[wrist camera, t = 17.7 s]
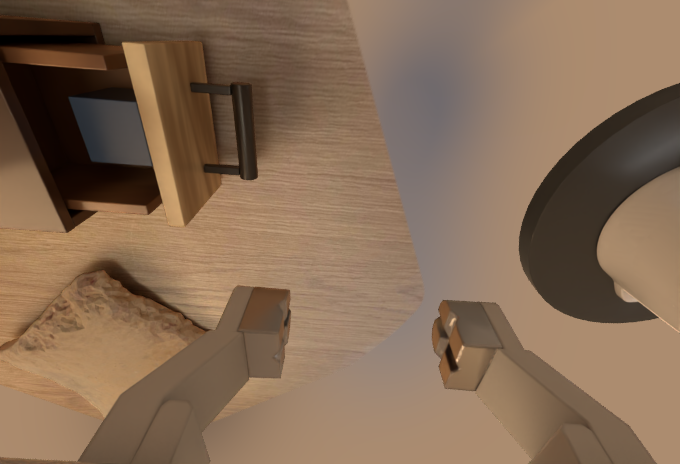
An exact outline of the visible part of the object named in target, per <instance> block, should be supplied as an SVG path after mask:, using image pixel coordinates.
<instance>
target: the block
mask: <svg viewBox="0 0 680 464" xmlns="http://www.w3.org/2000/svg"><path fill="white" fill-rule="evenodd" d="M68 98H69V101H70V104H71V107H72V109H73V112H74V115H75V118H76V120H77V123H78V126H79V129H80V132H81V134H82V137H83V140H84V143H85V145H86V148H87V151H88V154H89V156H90V159H91V161H92V162H102V163H115V164H128V165H141V166H153V163H152V159H151V155H150V151H149V147H148V143H147V139H146V136H145V132H144V128H143V124H142V120H141V116H140V112H139V108H138V104H137V100H136V96H135V93H134V89H126V88H114V87H110V88H106V89H101V90H96V91H92V92H87V93H82V94H77V95H73V96H69V97H68Z"/></svg>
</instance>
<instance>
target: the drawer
mask: <svg viewBox="0 0 680 464" xmlns="http://www.w3.org/2000/svg"><path fill="white" fill-rule="evenodd" d="M0 59H1V61H2V64H3V66H4V68H5V70H6V73H7V75H8V77H9V79H10V82H11V84H12V86H13V88H14V91H15V93H16V95H17V97H18V100H19V102H20V104H21V106H22V109H23V111H24V113H25V115H26V118H27V120H28V122H29V124H30V127H31V129H32V131H33V133H34V136H35V138H36V140H37V143H38V145H39V147H40V149H41V152H42V154H43V156H44V158H45V161H46V163H47V165H48V167H49V170H50V172H51V174H52V176H53V179H54V181H55V183H56V185H57V188H58V190H59V192H60V194H61V197H62V199H63V201H64V203H65V206H66V208H67V209H76V210H90V211H104V212H118V213H131V214H145V215H149V214H150V213H151V212H153V211H154V210H155V209H156V208H157V207H158V206H159V205H160V204H161V203H163V206H164V210H165V214H166V218H167V221H168V225H169V226H174V227H186V225H187V224H188V223H189V222H190V221H191V220H192V218H193V217H194V216H195V215H196V214H197V213H198V211H199V210H200V209H201V208H202V207H203V206H204V204H205V203H206V202H207V201H208V200H209V199H210V197H211V196H212V195H213V194H214V193H215V191H216V190H217V189H218V188H219V187H220V186H221V184H222V183H221V176H220V174H229V175H240V177H241V179H243V180H254V179H257V178H258V169H257V155H256V141H255V127H254V113H253V99H252V85H251V84H250V83H246V82H232V83H231V85H224V84H212V83H208V82H207V75H206V68H205V61H204V53H203V46H202V42H199V41H187V40H185V41H138V42H122V46H114V45H103V44H91V43H79V42H67V41H55V40H43V39H31V38H19V37H0ZM110 87H114V88H126V89H134V93H135V96H136V100H137V104H138V108H139V112H140V116H141V120H142V124H143V128H144V132H145V136H146V139H147V143H148V147H149V151H150V155H151V159H152V163H153V166H141V165H128V164H115V163H102V162H92V161H91V159H90V156H89V154H88V151H87V148H86V145H85V143H84V140H83V137H82V134H81V132H80V129H79V126H78V123H77V120H76V118H75V115H74V112H73V109H72V107H71V104H70V101H69V98H68V97H69V96H73V95H77V94H82V93H87V92H92V91H96V90H101V89H106V88H110ZM209 94H221V95H232V102H233V111H234V121H235V131H236V140H237V150H238V160H239V166H233V165H220V164H219V161H218V154H217V147H216V140H215V133H214V125H213V118H212V111H211V104H210V97H209Z"/></svg>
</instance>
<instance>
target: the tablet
mask: <svg viewBox="0 0 680 464" xmlns="http://www.w3.org/2000/svg"><path fill="white" fill-rule="evenodd" d="M205 333H206V331H204V330H202V329H200V328H198V327H197V326H194V325H192V321H190V320H189V319H185V318H184V317H183V316H182V314H181V313H179V312H175V311H172V310H170V309H168V308H167V307H165V306H162V305H160V304H159V303H157V302H155V301H153V300H151V299H150V298H145V297H143V296H141V295H134V294H132V293H130V292H129V291H128V290H127V289H126V288H124V287H122V285H121V283H120V281H115V280H114V279H112V278H111V277H109V275H108V274H107V273H106V272H105V271H104V270H100V271H93V272H88V273H83V274H81V275H80V276H78V277H76V278H75V279H74V281H73V282H72V284H70V285H68V286H67V287H66V288H65V289H64V291H63V292H61V294H60V295H59V296H58V297H57V298H56V299H55V300H54V301H53V302H52V303H51V304H50V305H49V306H48V307H47V309H46V310H45V311H44V312H43V314H42V315H41V316H40V317H39V318H38V319H37V320H36V321H35V322H34V323H33V324H32V325H31V326H30V327H29V328H28V329H27V330H26V332H25V333H24V334H23V335H22V336H21V337H20V338H18V339H14V340H12V341H8V342H6V343H4V344H3V345H2V346H0V360H1V361H5V362H8V363H9V364H11V365H12V366H14V367H16V368H18V369H21V370H25V371H28V372H30V373H33V374H36V375H39V376H41V377H44V378H47V379H50V380H52V381H54V382H55V383H57V384H59V385H61V386H63V387H65V388H67V389H70V390H72V391H75V392H76V393H78V394H80V395H81V396H82V397H84V398H85V399H86V400H87V401H88V402H90V403H91V404H92V405H93V406H95V407H96V408H97V409H98V410H99V411H100V412H101V414H102V415H103V417H104V418H106V416H107V414H108V413H109V411H110V410H111V408H112V407H113V405H114V403H115V402H116V400H117V399H118V397H119V396H120V394H122V393H123V392H124V391H126V390H127V389H129V388H130V387H131V386H133V385H134V384H136V383H137V382H138V381H140V380H141V379H142V378H144V377H145V376H147V375H148V374H149V373H151V372H152V371H154V370H155V369H156V368H158V367H159V366H160V365H162V364H163V363H165V362H166V361H167V360H169V359H170V358H172V357H173V356H174V355H176V354H177V353H178V352H180V351H181V350H183V349H184V348H185V347H187V346H188V345H189V344H191V343H192V342H194V341H195V340H196V339H198V338H199V337H201V336H202V335H203V334H205Z"/></svg>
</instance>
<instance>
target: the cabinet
mask: <svg viewBox="0 0 680 464" xmlns="http://www.w3.org/2000/svg"><path fill="white" fill-rule="evenodd" d="M0 37H19V38H31V39H43V40H55V41H67V42H79V43H91V44H103V45H105V43H104V40H103V36H102V33H101V29H100V26H99V23H91V22H79V21H67V20H56V19H44V18H32V17H21V16H9V15H0ZM96 212H98V211H90V210H76V209H67V208H66V206H65V203H64V201H63V199H62V197H61V194H60V192H59V190H58V188H57V185H56V183H55V181H54V179H53V176H52V174H51V172H50V170H49V167H48V165H47V163H46V161H45V158H44V156H43V154H42V152H41V149H40V147H39V145H38V143H37V140H36V138H35V136H34V133H33V131H32V129H31V127H30V124H29V122H28V120H27V118H26V115H25V113H24V111H23V109H22V106H21V104H20V102H19V100H18V97H17V95H16V93H15V91H14V88H13V86H12V84H11V82H10V79H9V77H8V75H7V73H6V70H5V68H4V66H3V64H2V61H1V59H0V228H4V229H18V230H33V231H47V232H61V233H68V232H69V231H71V230H72V229H74V228H75V227H76V226H78V225H79V224H81V223H82V222H83V221H85V220H86V219H88V218H89V217H91V216H92V215H93V214H95V213H96Z"/></svg>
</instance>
